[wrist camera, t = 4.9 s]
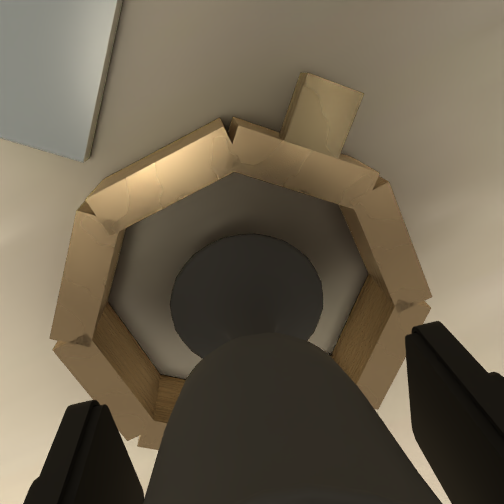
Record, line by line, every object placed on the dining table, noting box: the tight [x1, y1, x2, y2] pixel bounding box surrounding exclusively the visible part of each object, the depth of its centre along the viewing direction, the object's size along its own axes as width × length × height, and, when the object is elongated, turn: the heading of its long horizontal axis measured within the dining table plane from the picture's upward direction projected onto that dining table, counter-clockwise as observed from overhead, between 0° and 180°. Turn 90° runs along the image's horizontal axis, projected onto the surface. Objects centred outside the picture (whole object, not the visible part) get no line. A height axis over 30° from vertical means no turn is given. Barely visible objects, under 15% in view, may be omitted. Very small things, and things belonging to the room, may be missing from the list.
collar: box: [50, 73, 432, 450], centre depth 15 cm, size 15×11×2 cm
